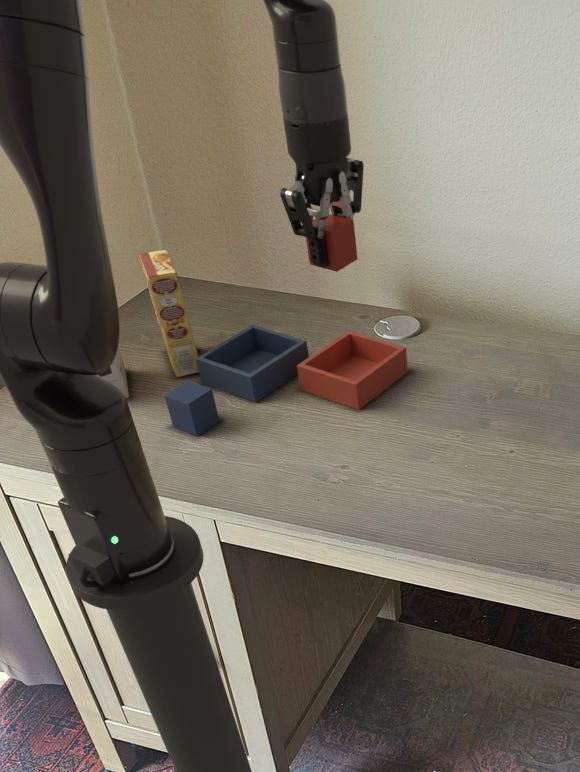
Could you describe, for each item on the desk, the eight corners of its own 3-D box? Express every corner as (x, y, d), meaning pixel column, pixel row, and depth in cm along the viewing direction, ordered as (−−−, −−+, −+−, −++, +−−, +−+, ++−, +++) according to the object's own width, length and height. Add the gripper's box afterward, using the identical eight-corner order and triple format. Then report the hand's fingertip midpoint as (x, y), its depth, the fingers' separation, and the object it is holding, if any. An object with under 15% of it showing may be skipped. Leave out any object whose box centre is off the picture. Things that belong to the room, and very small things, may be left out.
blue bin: (255, 402, 125) (250, 377, 122) (201, 383, 128) (195, 358, 125) (310, 365, 132) (306, 340, 129) (257, 348, 136) (252, 324, 133)
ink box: (93, 375, 130) (66, 299, 121) (127, 370, 131) (103, 294, 122) (93, 404, 124) (66, 326, 116) (129, 399, 125) (104, 320, 117)
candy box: (203, 373, 130) (178, 271, 119) (175, 378, 129) (147, 276, 118) (192, 347, 136) (167, 248, 125) (165, 352, 135) (137, 253, 124)
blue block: (197, 436, 118) (188, 403, 115) (173, 427, 120) (163, 394, 116) (219, 421, 121) (211, 389, 117) (196, 412, 123) (187, 380, 119)
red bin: (358, 409, 123) (356, 384, 120) (300, 390, 127) (296, 365, 124) (407, 372, 131) (406, 347, 128) (351, 354, 135) (348, 330, 132)
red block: (337, 272, 110) (332, 232, 107) (309, 264, 112) (303, 224, 108) (357, 259, 113) (353, 219, 109) (330, 252, 115) (325, 212, 111)
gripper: (326, 90, 105) (343, 234, 118) (249, 121, 97) (275, 272, 109) (376, 99, 103) (388, 245, 115) (301, 132, 94) (322, 286, 107)
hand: (333, 258), depth 112 cm, fingers closed on red block, 4 cm apart
